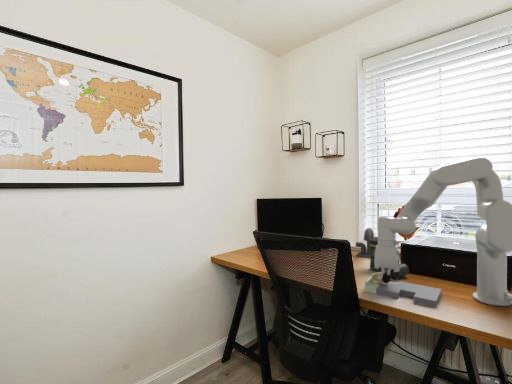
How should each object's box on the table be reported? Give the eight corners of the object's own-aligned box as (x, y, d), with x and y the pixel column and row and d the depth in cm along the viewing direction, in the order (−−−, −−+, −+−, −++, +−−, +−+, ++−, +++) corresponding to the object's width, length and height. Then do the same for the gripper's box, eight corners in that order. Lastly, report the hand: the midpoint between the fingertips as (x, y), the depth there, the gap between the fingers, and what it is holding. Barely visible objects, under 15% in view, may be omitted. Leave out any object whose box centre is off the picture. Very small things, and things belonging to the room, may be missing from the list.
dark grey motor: (398, 281, 144) (398, 268, 144) (385, 277, 150) (385, 265, 150) (409, 277, 149) (409, 264, 149) (396, 274, 155) (396, 261, 155)
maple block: (384, 280, 135) (381, 271, 136) (382, 282, 132) (379, 274, 133) (376, 281, 138) (373, 273, 138) (374, 283, 134) (371, 275, 135)
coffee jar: (367, 270, 163) (367, 237, 162) (373, 267, 168) (373, 235, 168) (385, 273, 156) (385, 240, 155) (390, 270, 161) (390, 237, 161)
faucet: (352, 259, 186) (351, 228, 186) (357, 254, 200) (357, 225, 199) (382, 263, 177) (382, 230, 176) (385, 257, 190) (385, 227, 189)
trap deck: (441, 294, 126) (441, 284, 126) (436, 307, 114) (436, 296, 114) (375, 281, 144) (375, 272, 144) (364, 291, 132) (364, 281, 132)
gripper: (406, 243, 131) (406, 283, 131) (372, 240, 140) (372, 277, 141) (402, 246, 125) (402, 288, 125) (367, 242, 134) (367, 281, 135)
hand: (386, 282), depth 133 cm, fingers closed
